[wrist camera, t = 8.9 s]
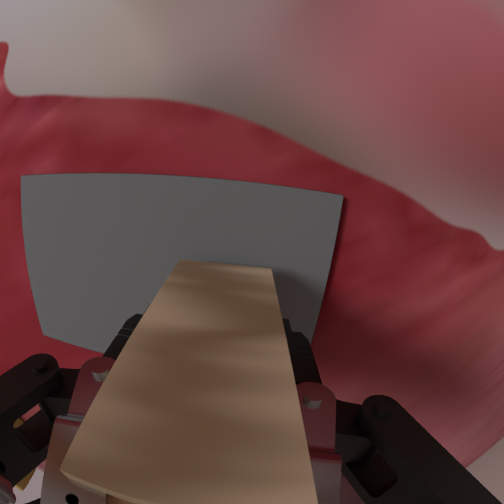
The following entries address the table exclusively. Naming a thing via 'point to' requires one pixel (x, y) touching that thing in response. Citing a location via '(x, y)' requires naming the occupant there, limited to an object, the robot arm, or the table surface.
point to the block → (200, 400)
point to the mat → (165, 244)
